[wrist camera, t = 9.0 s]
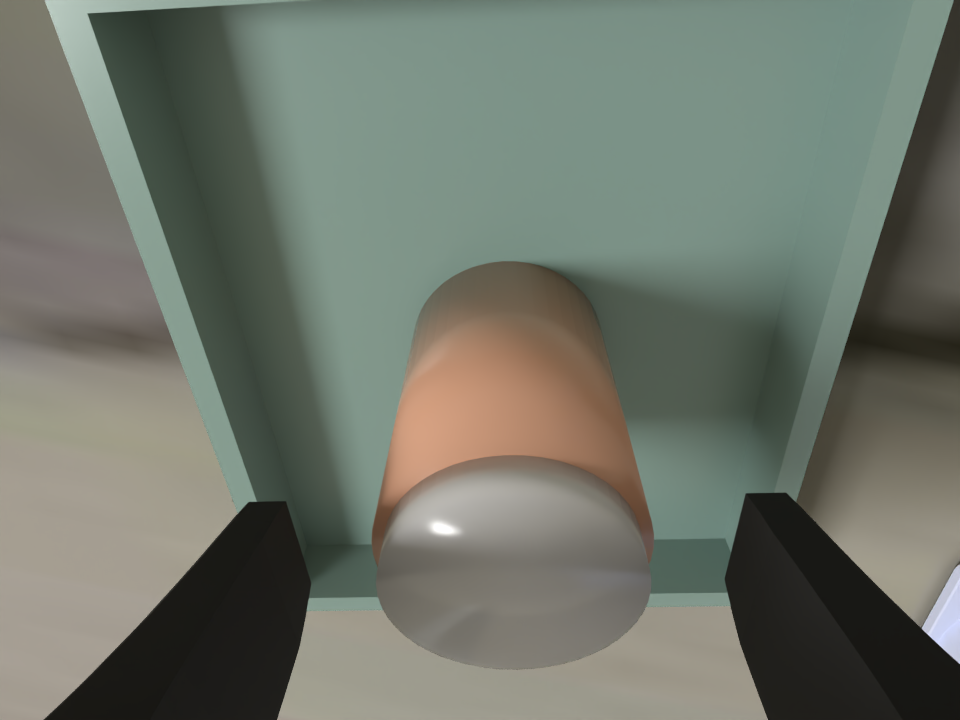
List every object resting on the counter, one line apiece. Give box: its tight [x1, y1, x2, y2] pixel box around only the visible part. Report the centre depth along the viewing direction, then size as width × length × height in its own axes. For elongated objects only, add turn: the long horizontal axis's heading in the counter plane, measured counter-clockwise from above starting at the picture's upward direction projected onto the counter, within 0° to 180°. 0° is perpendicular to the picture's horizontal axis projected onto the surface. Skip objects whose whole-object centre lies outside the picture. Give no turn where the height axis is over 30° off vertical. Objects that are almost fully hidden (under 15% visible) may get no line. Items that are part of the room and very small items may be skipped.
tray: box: [45, 0, 954, 611], centre depth 15 cm, size 14×16×2 cm
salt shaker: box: [371, 261, 654, 670], centre depth 13 cm, size 5×5×7 cm
